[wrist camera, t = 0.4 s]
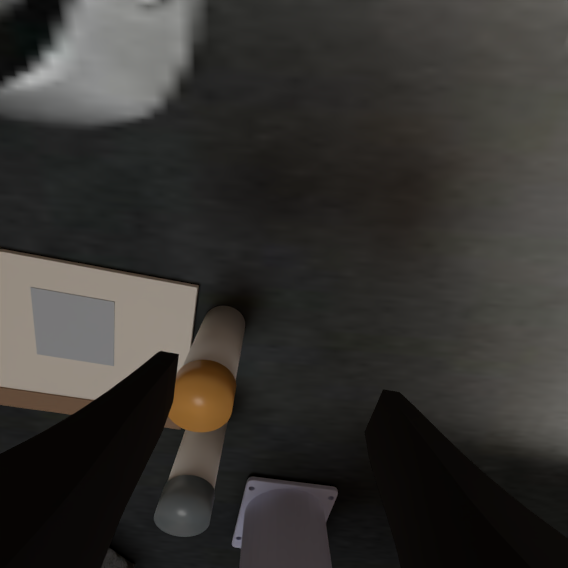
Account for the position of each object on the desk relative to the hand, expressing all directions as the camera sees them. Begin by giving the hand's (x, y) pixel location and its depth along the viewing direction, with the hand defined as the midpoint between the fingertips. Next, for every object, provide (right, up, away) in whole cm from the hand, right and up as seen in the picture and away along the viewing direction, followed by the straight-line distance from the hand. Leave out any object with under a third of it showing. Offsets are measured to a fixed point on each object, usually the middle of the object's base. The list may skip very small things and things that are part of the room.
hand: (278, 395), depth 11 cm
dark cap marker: (-5, -6, +13) cm, 15 cm away
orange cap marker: (-4, +1, +10) cm, 11 cm away
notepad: (-13, 0, +11) cm, 17 cm away
